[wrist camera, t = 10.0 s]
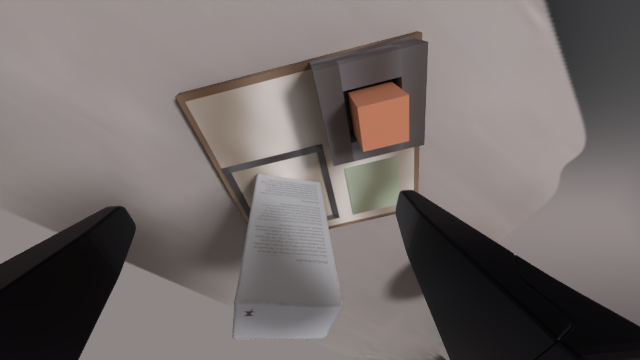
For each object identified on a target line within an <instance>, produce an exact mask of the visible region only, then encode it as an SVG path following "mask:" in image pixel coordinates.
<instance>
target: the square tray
mask: <svg viewBox="0 0 640 360" xmlns="http://www.w3.org/2000/svg"><path fill="white" fill-rule="evenodd" d="M427 56H428V42H426V41H423V40H422V32H418V31H417V32H413V33H409V34H406V35H402V36H398V37H394V38H390V39H386V40H382V41H379V42H375V43H371V44H367V45H363V46H359V47H355V48H352V49H348V50H344V51H340V52H336V53H332V54H329V55H325V56H321V57H317V58H313V59H309V60H305V61H302V62H298V63H294V64H290V65H286V66H282V67H279V68H275V69H271V70H267V71H263V72H259V73H255V74H252V75H248V76H244V77H240V78H236V79H232V80H229V81H225V82H221V83H217V84H213V85H209V86H205V87H202V88H198V89H194V90H190V91H186V92H182V93H179V94H178V95H177V96H175V97H176V99H177V100H178V102H179V104H180V106H181V108H182V109H183V111H184V113H185V115H186V116H187V118H188V120H189V122H190V123H191V125H192V127H193V129H194V131H195V132H196V134H197V136H198V138H199V139H200V141H201V143H202V145H203V146H204V148H205V150H206V152H207V154H208V155H209V157H210V159H211V161H212V162H213V164H214V166H215V168H216V169H217V171H218V173H219V175H220V177H221V178H222V180H223V182H224V184H225V185H226V187H227V189H228V191H229V192H230V194H231V196H232V198H233V200H234V201H235V203H236V205H237V207H238V208H239V210H240V212H241V214H242V215H243V217H244V219H245V221H246V222H247V224H248V222H249V216H250V211H251V205H252V199H253V193H254V188H255V182H256V177H257V174H263V175H270V176H277V177H284V178H292V179H299V180H307V181H314V182H320V184H321V189H322V194H323V200H324V205H325V211H326V216H327V222H328V228H329V229H331V228H335V227H340V226H344V225H348V224H353V223H357V222H362V221H366V220H371V219H375V218H379V217H384V216H388V215H393V214H396V211H395V210H396V205H397V200H398V196H399V193H400V191H402V190H414V191H416V192H417V193H418V180H419V146H421V145H424V135H425V109H426V82H427ZM391 81H392V82H393V83H394V84H396V85H397V86H398V87H400V88H401V89H402V90H403V91H405V92H406V93H407V94H409V141H407V142H403V143H399V144H395V145H390V146H386V147H382V148H378V149H374V150H370V151H365V152H363V150H362V148H361V146H360V144H359V142H358V140H357V138H356V136H355V134H354V132H353V125H352V118H351V112H350V105H349V98H348V92H351V91H355V90H359V89H363V88H367V87H371V86H375V85H379V84H383V83H387V82H391Z"/></svg>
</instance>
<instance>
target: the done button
mask: <svg viewBox="0 0 640 360" xmlns="http://www.w3.org/2000/svg"><path fill="white" fill-rule="evenodd" d="M348 98H349V105H350V112H351V118H352V125H353V132H354V134H355V136H356V138H357V140H358V142H359V144H360V146H361V148H362V150H363V152H365V151H370V150H374V149H378V148H382V147H386V146H390V145H395V144H399V143H403V142H407V141H409V94H407V93H406V92H405V91H403V90H402V89H401V88H400V87H398V86H397V85H396V84H394V83H393V82H392V81H391V82H387V83H383V84H379V85H375V86H371V87H367V88H363V89H359V90H355V91H351V92H348Z"/></svg>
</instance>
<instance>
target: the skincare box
mask: <svg viewBox="0 0 640 360" xmlns="http://www.w3.org/2000/svg"><path fill="white" fill-rule="evenodd" d="M342 307H343V302H342V297H341V292H340V287H339V282H338V277H337V271H336V266H335V261H334V255H333V250H332V244H331V238H330V233H329V228H328V222H327V216H326V211H325V205H324V200H323V194H322V189H321V184H320V182H314V181H307V180H299V179H292V178H284V177H277V176H270V175H263V174H257V177H256V182H255V188H254V193H253V199H252V205H251V211H250V216H249V222H248V228H247V234H246V239H245V245H244V251H243V257H242V263H241V269H240V276H239V281H238V286H237V291H236V296H235V301H234V319H233V339H268V338H269V339H271V338H273V339H276V338H277V339H284V338H285V339H289V338H290V339H293V338H325V337H326V335H327V333H328V331H329V329H330V328H331V326H332V324H333V322H334V321H335V319H336V317H337V316H338V314H339V312H340V311H341V309H342Z"/></svg>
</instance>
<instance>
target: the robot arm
mask: <svg viewBox="0 0 640 360" xmlns="http://www.w3.org/2000/svg"><path fill="white" fill-rule="evenodd" d="M395 211H396V217H397V221H398V224H399V228H400V231H401V235H402V238H403V242H404V246H405V249H406V252H407V255H408V258H409V260H410V263H411V265H412V268H413V270H414V273H415V275H416V278H417V280H418V282H419V285H420V287H421V290H422V292H423V295H424V297H425V300H426V302H427V304H428V307H429V309H430V312H431V314H432V317H433V319H434V322H435V324H436V326H437V329H438V331H439V334H440V336H441V339H442V341H443V344H444V346H445V348H446V351H447V353H448V356H449V358H450V360H640V326H638V325H636V324H635V323H633V322H631V321H629V320H627V319H626V318H624V317H622V316H620V315H618V314H617V313H615V312H613V311H611V310H609V309H608V308H606V307H604V306H602V305H600V304H599V303H597V302H595V301H593V300H591V299H590V298H588V297H586V296H584V295H582V294H581V293H579V292H577V291H575V290H574V289H572V288H570V287H568V286H567V285H565V284H563V283H561V282H560V281H558V280H556V279H555V278H553V277H551V276H549V275H548V274H546V273H544V272H543V271H541V270H539V269H538V268H536V267H535V266H533V265H531V264H530V263H528V262H527V261H525V260H524V259H522V258H520V257H519V256H517V255H515V256H514V254H513V253H512V252H510V251H509V250H507V249H506V248H504V247H503V246H501V245H500V244H498V243H496V242H495V241H493V240H492V239H490V238H488V237H487V236H485V235H484V234H482V233H481V232H479V231H477V230H476V229H474V228H473V227H471V226H469V225H468V224H466V223H465V222H463V221H462V220H460V219H458V218H457V217H455V216H454V215H452V214H450V213H449V212H447V211H446V210H444V209H442V208H441V207H439V206H438V205H436V204H435V203H433V202H431V201H430V200H428V199H427V198H425V197H423V196H422V195H420V194H419V193H417V192H416V191H414V190H402V191H400V193H399V196H398V200H397V205H396V210H395ZM135 230H136V226H135V223H134V221H133V220H132V218H131V217H130V215H129V213H128V212H127V210H126V209H125V208H124V207H122V206H110V207H106V208H104V209H102V210H100V211H98V212H96V213H95V214H93V215H91V216H89V217H87V218H85V219H83V220H82V221H80V222H78V223H76V224H74V225H72V226H70V227H69V228H67V229H65V230H63V231H61V232H59V233H57V234H55V235H54V236H52V237H50V238H48V239H46V240H44V241H43V242H41V243H39V244H37V245H35V246H33V247H31V248H30V249H28V250H26V251H24V252H22V253H20V254H18V255H16V256H14V257H13V258H11V259H9V260H7V261H5V262H4V263H1V264H0V360H78V359H79V357H80V355H81V353H82V351H83V349H84V347H85V345H86V343H87V341H88V339H89V337H90V335H91V333H92V331H93V329H94V327H95V324H96V322H97V320H98V318H99V316H100V314H101V312H102V310H103V308H104V306H105V304H106V302H107V300H108V298H109V296H110V294H111V291H112V290H113V288H114V285H115V283H116V281H117V279H118V277H119V275H120V272H121V270H122V267H123V264H124V261H125V259H126V256H127V253H128V250H129V248H130V245H131V242H132V239H133V237H134V234H135Z"/></svg>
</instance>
